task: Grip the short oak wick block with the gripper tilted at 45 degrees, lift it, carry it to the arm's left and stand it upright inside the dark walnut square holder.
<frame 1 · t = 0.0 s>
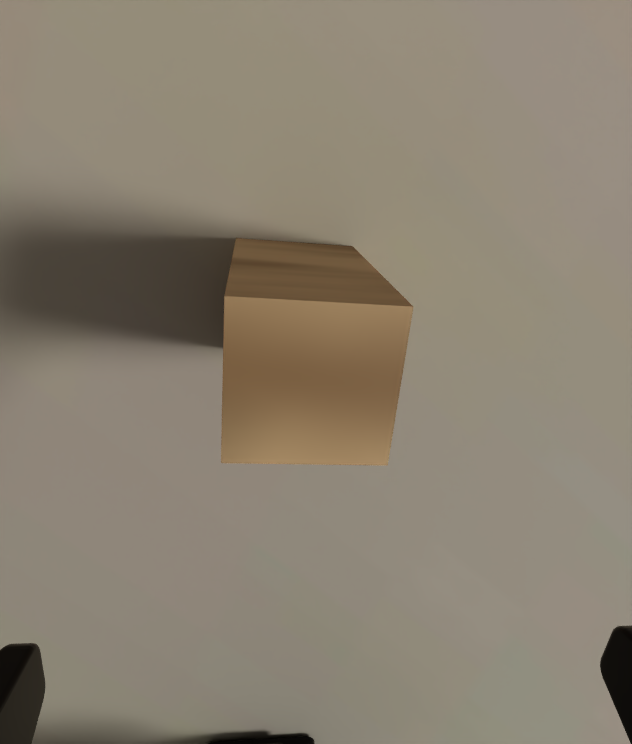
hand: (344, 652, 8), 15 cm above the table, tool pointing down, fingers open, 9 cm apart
oak wick block: (291, 299, 21), on the table
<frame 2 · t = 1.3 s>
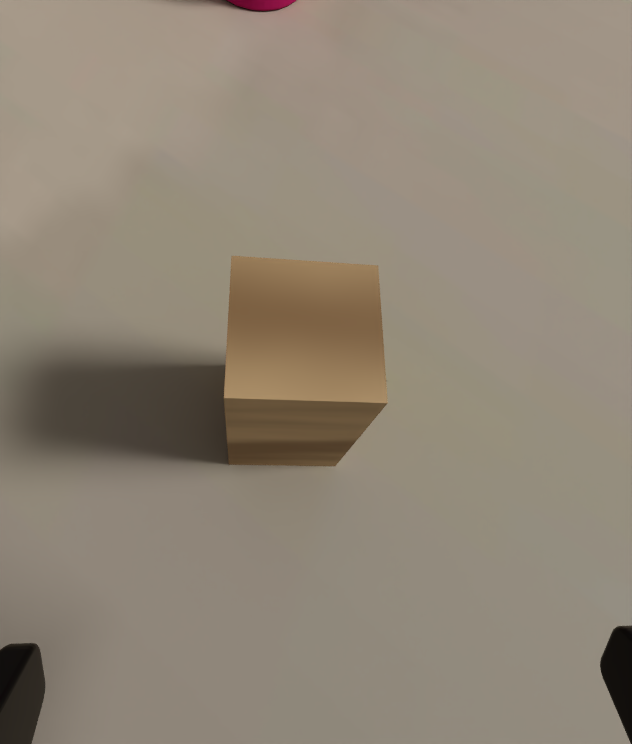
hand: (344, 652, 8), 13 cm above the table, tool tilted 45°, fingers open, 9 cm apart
oak wick block: (283, 414, 23), on the table
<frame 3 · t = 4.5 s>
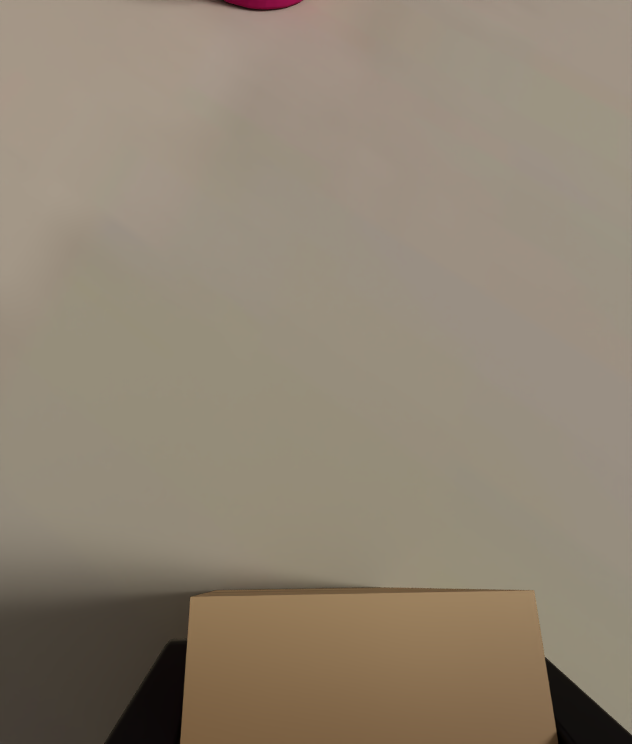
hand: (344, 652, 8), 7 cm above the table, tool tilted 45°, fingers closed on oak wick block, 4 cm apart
oak wick block: (299, 682, 14), on the table, touching gripper
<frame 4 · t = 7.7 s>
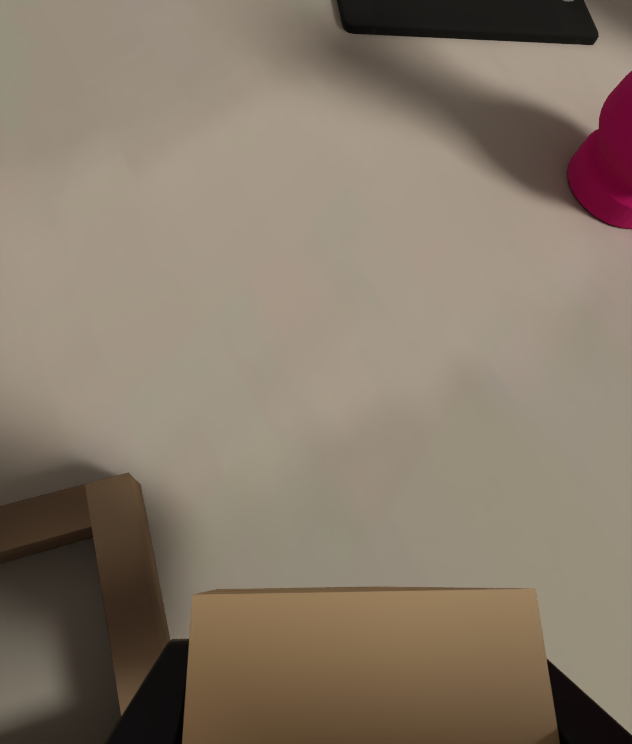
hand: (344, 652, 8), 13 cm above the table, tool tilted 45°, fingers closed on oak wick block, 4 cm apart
cell phone: (457, 3, 37), on the table
walnut holder: (21, 661, 18), on the table
oak wick block: (299, 680, 14), point 6 cm above the table, touching gripper
pepper mill: (613, 189, 31), on the table
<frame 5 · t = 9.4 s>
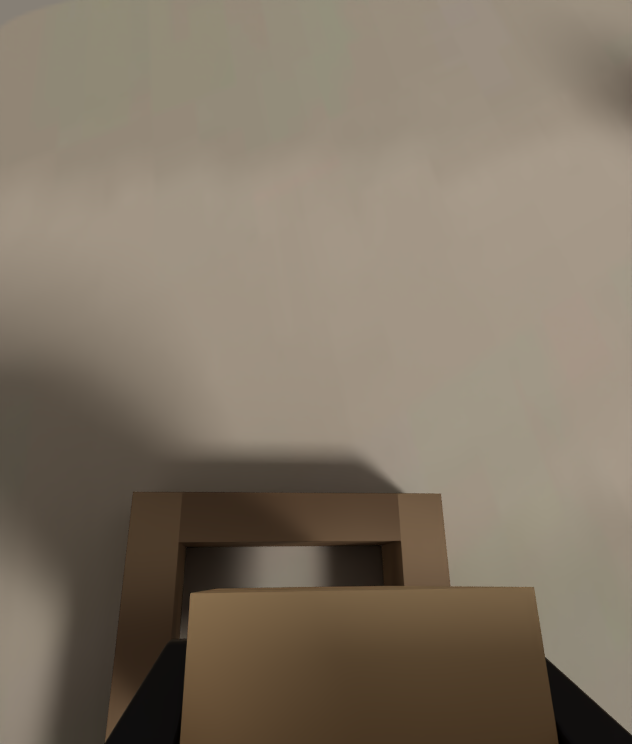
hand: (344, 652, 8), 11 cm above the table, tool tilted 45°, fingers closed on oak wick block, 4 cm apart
walnut holder: (285, 656, 17), on the table
oak wick block: (299, 680, 14), point 4 cm above the table, touching gripper
when the fingers open (8 cm above the table, at t = 10.9 s): oak wick block drops 2 cm, resting in walnut holder.
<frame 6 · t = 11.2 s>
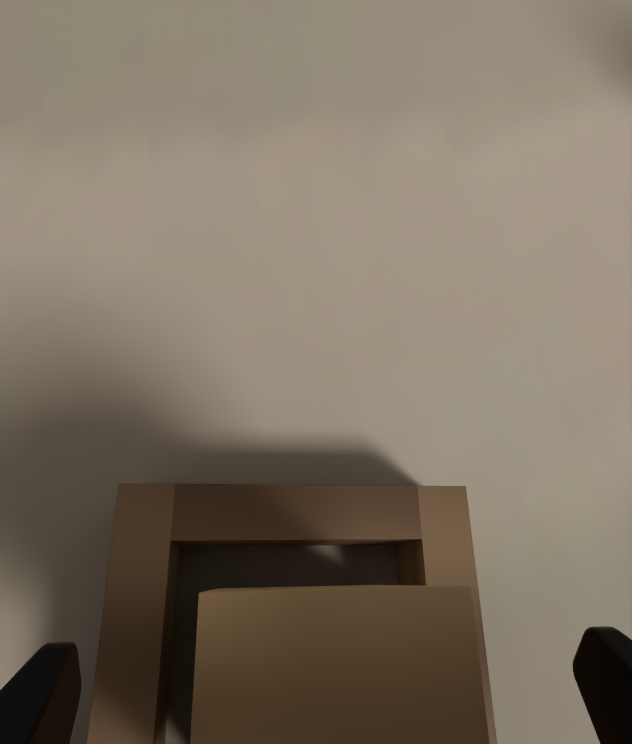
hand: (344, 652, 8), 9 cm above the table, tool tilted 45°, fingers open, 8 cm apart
walnut holder: (291, 670, 15), on the table
oak wick block: (291, 668, 15), resting in walnut holder
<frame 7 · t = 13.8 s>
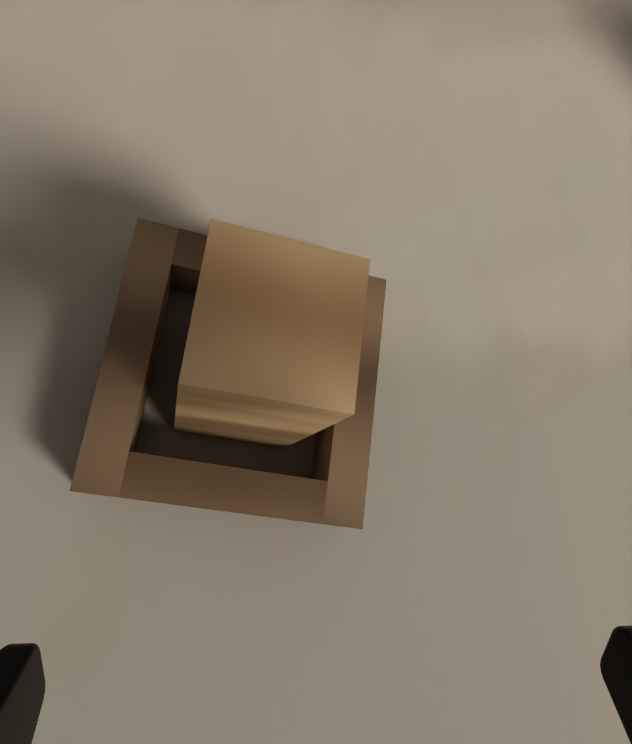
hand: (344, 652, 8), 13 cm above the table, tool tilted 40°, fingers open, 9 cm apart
walnut holder: (239, 385, 22), on the table
oak wick block: (239, 385, 22), resting in walnut holder
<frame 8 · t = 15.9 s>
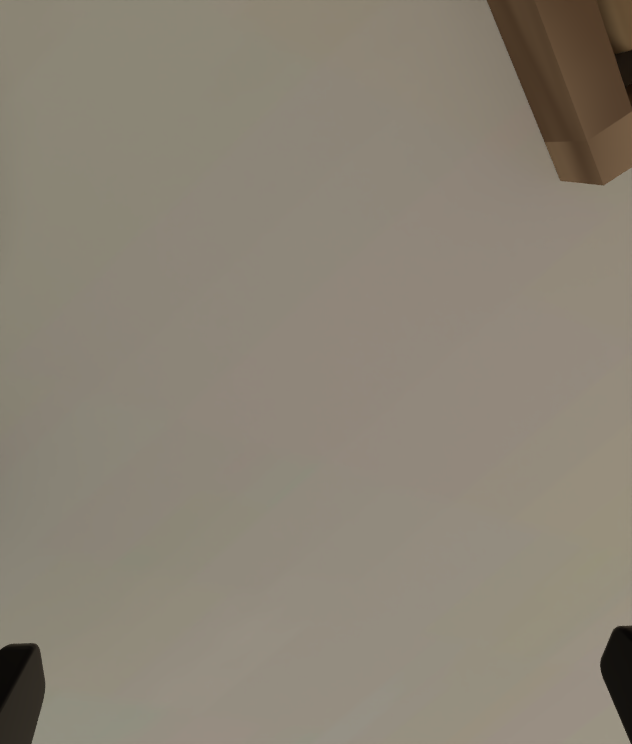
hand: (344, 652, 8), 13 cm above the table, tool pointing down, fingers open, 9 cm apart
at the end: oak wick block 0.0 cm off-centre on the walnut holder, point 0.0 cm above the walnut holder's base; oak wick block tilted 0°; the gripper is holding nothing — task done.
